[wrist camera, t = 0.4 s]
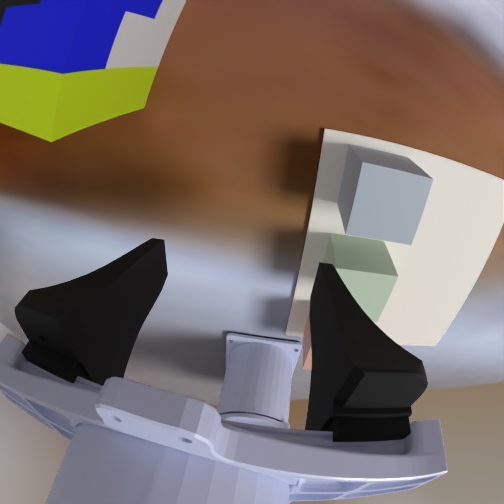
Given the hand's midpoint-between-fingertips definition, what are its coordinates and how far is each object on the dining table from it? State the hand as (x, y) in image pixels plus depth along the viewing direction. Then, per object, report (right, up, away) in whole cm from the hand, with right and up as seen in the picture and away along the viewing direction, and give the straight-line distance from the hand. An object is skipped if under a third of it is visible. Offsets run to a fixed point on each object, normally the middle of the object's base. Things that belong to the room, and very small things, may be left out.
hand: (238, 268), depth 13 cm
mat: (+14, 0, +9) cm, 17 cm away
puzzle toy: (-10, +17, +2) cm, 20 cm away
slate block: (+9, +6, +6) cm, 12 cm away
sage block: (+9, 0, +10) cm, 13 cm away
